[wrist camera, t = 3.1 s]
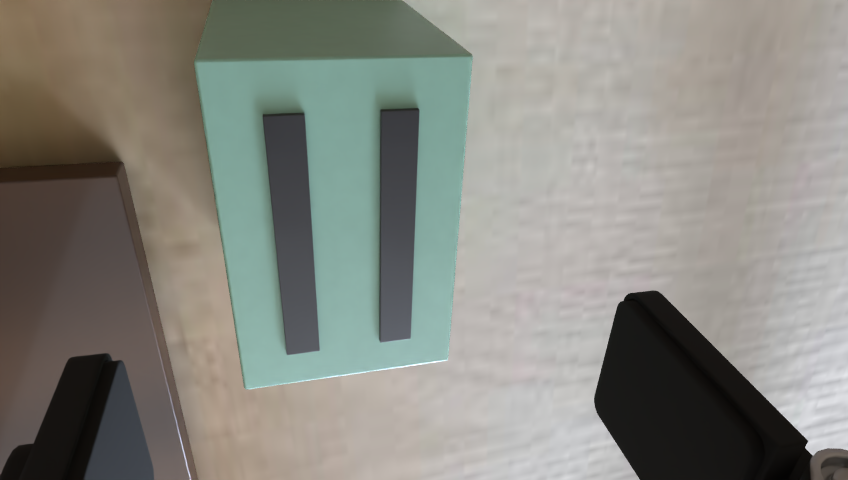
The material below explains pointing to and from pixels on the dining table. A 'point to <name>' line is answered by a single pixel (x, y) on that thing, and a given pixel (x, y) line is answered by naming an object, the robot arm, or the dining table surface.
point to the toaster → (334, 181)
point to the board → (80, 303)
